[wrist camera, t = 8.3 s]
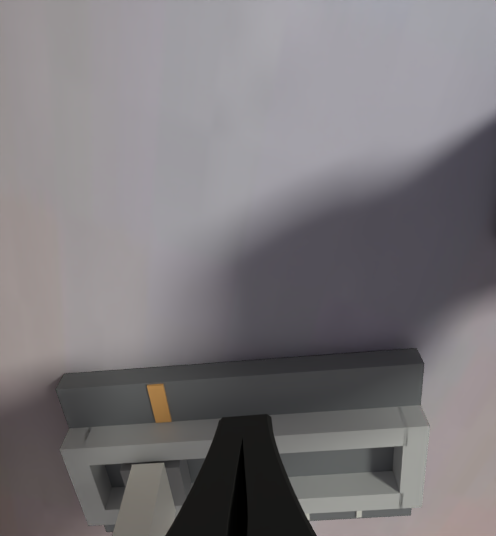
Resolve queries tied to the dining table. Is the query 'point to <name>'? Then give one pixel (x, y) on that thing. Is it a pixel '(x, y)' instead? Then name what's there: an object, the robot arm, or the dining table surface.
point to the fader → (151, 496)
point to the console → (254, 403)
